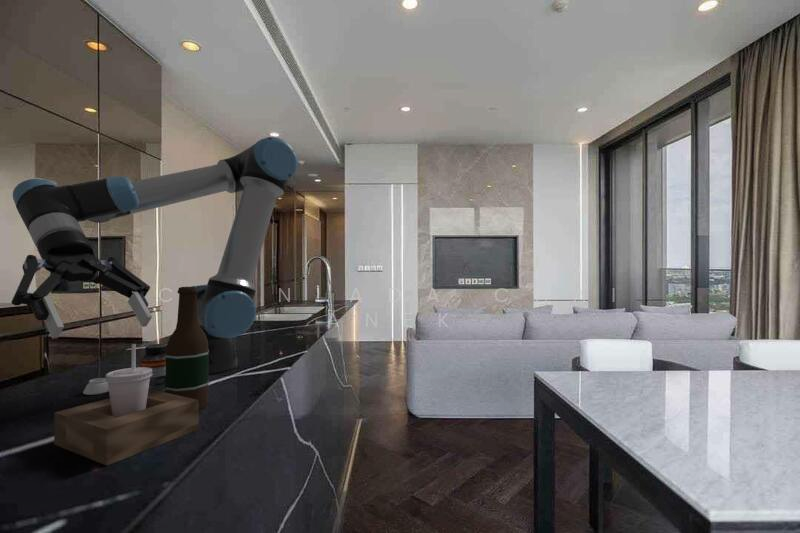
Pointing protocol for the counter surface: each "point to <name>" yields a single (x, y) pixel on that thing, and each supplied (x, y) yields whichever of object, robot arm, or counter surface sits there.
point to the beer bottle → (188, 352)
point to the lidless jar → (96, 387)
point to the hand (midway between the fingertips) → (106, 326)
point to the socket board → (124, 427)
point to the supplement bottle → (156, 365)
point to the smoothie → (128, 388)
